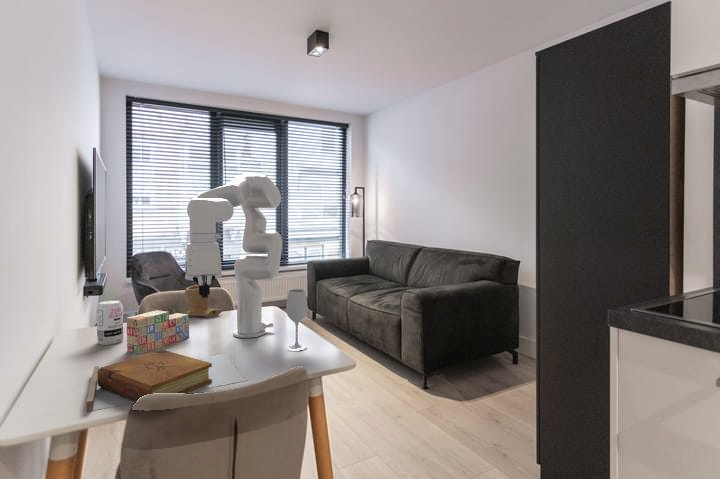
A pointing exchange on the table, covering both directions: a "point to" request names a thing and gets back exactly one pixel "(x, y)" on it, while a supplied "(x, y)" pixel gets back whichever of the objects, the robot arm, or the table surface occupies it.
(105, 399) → the display board
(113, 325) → the supplement can
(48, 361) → the table surface
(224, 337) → the table surface
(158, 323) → the stack of blocks
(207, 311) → the stone cup
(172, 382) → the diary
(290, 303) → the wineglass
